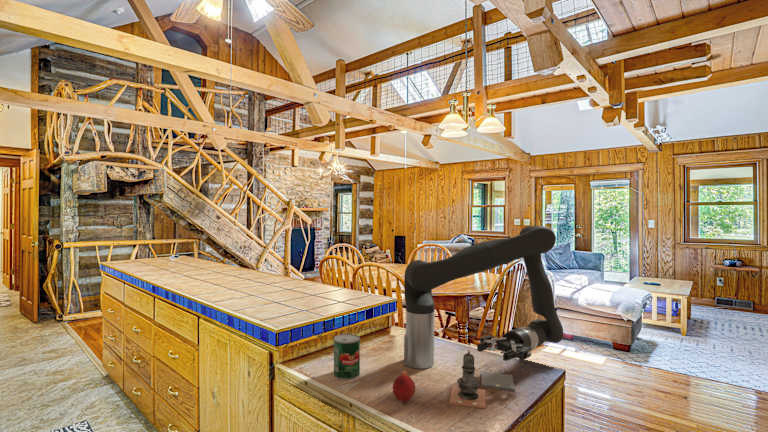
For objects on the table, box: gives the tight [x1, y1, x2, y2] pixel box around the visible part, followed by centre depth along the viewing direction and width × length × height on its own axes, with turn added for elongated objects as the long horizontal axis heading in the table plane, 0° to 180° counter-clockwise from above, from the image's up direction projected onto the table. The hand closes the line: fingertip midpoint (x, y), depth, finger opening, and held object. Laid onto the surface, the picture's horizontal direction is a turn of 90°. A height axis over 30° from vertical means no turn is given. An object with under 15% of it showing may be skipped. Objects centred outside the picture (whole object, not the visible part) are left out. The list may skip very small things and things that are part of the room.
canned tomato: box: [333, 333, 361, 381], centre depth 115 cm, size 8×8×11 cm
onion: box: [392, 370, 416, 403], centre depth 99 cm, size 6×6×8 cm
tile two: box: [448, 385, 487, 409], centre depth 102 cm, size 9×9×1 cm
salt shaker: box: [456, 350, 481, 400], centre depth 102 cm, size 6×6×12 cm
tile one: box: [480, 371, 516, 392], centre depth 111 cm, size 9×9×1 cm
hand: (491, 352), depth 109 cm, fingers open, 8 cm apart
